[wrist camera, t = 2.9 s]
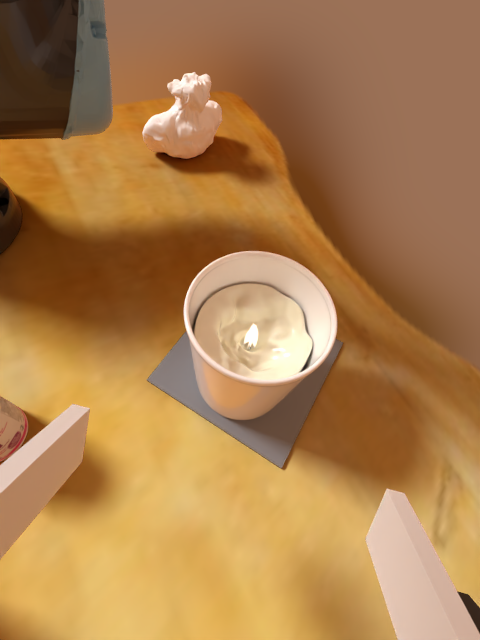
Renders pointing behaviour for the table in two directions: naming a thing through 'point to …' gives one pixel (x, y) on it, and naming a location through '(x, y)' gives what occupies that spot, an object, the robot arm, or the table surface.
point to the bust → (185, 119)
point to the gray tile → (258, 434)
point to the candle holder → (256, 330)
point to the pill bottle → (11, 428)
